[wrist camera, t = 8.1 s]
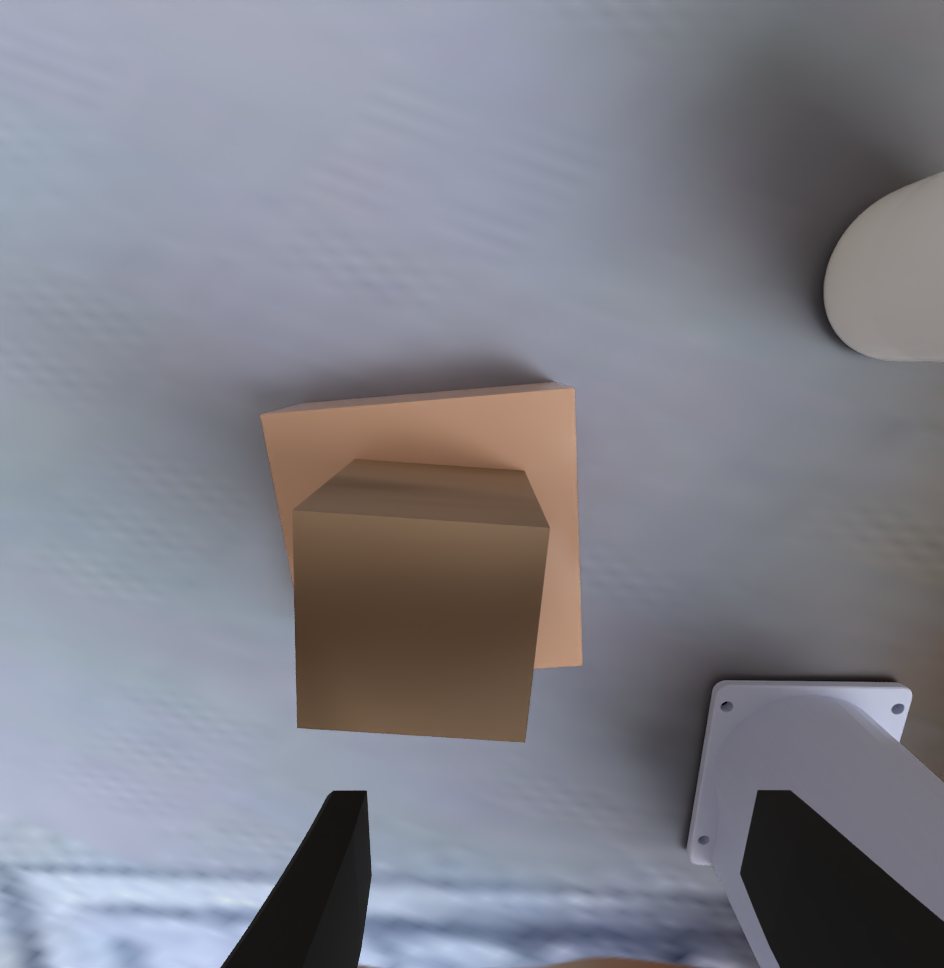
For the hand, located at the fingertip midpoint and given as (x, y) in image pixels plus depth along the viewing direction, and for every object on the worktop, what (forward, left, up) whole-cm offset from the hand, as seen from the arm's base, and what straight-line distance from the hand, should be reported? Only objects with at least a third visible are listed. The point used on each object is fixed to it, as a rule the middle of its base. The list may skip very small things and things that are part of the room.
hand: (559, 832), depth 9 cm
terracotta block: (+3, +3, -11) cm, 12 cm away
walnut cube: (+3, +3, -7) cm, 8 cm away
